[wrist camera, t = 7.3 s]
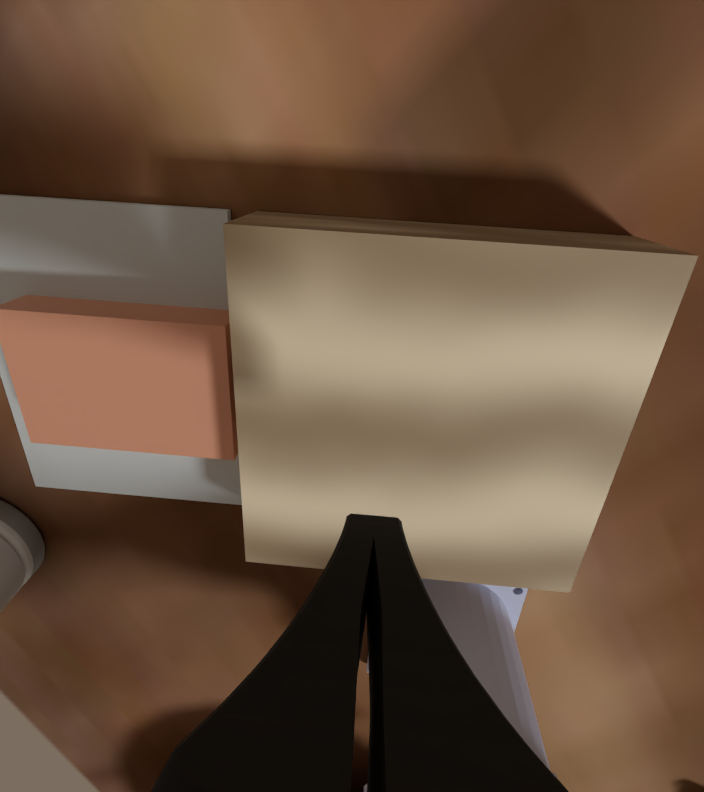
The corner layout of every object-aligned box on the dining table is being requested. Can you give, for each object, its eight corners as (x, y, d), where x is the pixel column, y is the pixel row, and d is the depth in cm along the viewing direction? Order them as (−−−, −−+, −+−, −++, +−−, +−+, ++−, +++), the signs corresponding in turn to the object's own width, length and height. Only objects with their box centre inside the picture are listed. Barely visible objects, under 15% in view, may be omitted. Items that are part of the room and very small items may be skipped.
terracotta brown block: (247, 435, 22) (234, 460, 20) (59, 419, 22) (30, 442, 20) (240, 310, 19) (225, 326, 17) (26, 294, 19) (-11, 308, 18)
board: (542, 526, 23) (569, 592, 20) (267, 502, 24) (245, 561, 20) (633, 235, 17) (698, 255, 14) (256, 210, 18) (222, 223, 14)
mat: (247, 500, 24) (245, 505, 24) (40, 481, 24) (35, 486, 24) (230, 209, 18) (227, 210, 17) (-49, 190, 18) (-58, 191, 18)
